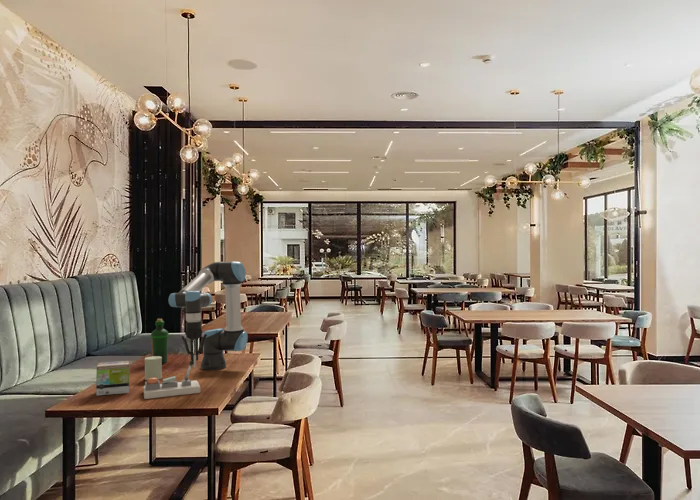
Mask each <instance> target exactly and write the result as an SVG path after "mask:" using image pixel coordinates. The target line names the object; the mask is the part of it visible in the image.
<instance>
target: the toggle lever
mask: <svg viewBox="0 0 700 500" xmlns="http://www.w3.org/2000/svg"><path fill="white" fill-rule="evenodd" d="M193 364H194V362H193V361H191V360H190V361H189V362H188V368H187V372H186V375H185V376H184V379H183V380H188V379H189V378H188V377H189V375H190V373H191V369H192V368H193Z"/></svg>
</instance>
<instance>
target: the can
mask: <svg viewBox="0 0 700 500" xmlns="http://www.w3.org/2000/svg"><path fill="white" fill-rule="evenodd" d="M162 369H163V366H162V357H160V356H152V355H151V356H146V357H145V358H144V380H145V381H148V378H157V379H158V380H160V379H162V378H163V375H162V374H163V372H162V371H163V370H162Z"/></svg>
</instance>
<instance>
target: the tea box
mask: <svg viewBox="0 0 700 500" xmlns="http://www.w3.org/2000/svg"><path fill="white" fill-rule="evenodd" d="M95 374H96V375H95V376H96V382H95V383H96V386H95V387H96V389H95V391H96V396H97V397H98V396H99V397H100V396H105V395H119V394H129V392H130V360H121V361H110V362H109V361H107V362H98V363H97V366H96V373H95Z"/></svg>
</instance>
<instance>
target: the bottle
mask: <svg viewBox="0 0 700 500" xmlns="http://www.w3.org/2000/svg"><path fill="white" fill-rule="evenodd" d="M154 325H155V327H156V328H155V329H154V330H153V331H151V333H150V342H151V357H152V356H160V357H162V364H163V365H164V364H166V363H167V362H168V354H169V352H168V351H169V350H168V349H169V348H168V347H169V331H168V330H167V329H165V328H164V325H165V321H164V320H163V318H157V319H156V321H155V323H154Z"/></svg>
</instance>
